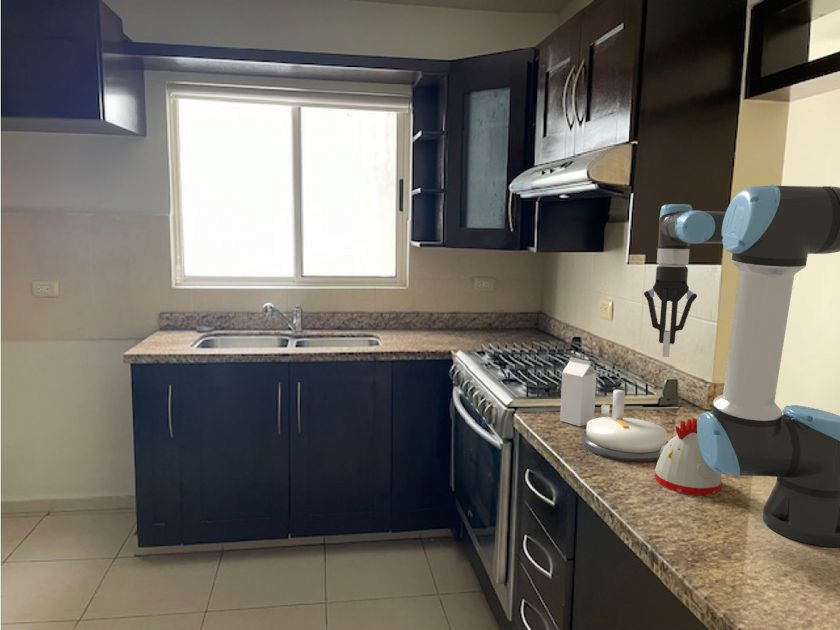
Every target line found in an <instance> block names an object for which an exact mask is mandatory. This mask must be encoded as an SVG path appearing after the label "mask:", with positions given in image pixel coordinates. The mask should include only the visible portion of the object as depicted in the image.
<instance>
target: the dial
mask: <svg viewBox="0 0 840 630" xmlns="http://www.w3.org/2000/svg"><path fill="white" fill-rule="evenodd" d="M625 396H626V391H625V390H622V389H614V390H613V393H612V409H611V410H612V411H611V416H609V417H601V416H600V417H596V418H595V417H594V419H592V420H590V421H588V423H587V424H586V430H585V431H586V437H587V439H588V440H590V441H591V442H592V443H594V444H596V445H599V446H601V447H604V448H608V449H612V450H617V451H623V452H632V453H648V452H655V451H659V450H660V449H661V447H662V446H663V445H666V441H668V440H667V439H668V432H667V430H666V429H665V428H664V427H662V426H660V425H658V424H656V423H653V422H651V421H647V420H643V419H639V418H632V417H625V416H624V415H625V414H624V412H625V399H626V397H625Z"/></svg>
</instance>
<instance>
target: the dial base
mask: <svg viewBox="0 0 840 630" xmlns="http://www.w3.org/2000/svg"><path fill="white" fill-rule="evenodd" d="M610 407H611V405H610V404H605V403H602V405H601V408H600V409H601V412H600V417H610V411H611V409H610ZM668 442H669V441H668V440H667V441H666V444H667V443H668ZM582 444H583V445H582ZM581 445H582V447H583V446H584V447H585V448H586V449H587V450H586V449H585V448H584V447H583V448H584V449H585V450H586V451H588V450H589V451H591V452H593V453H595V454H594V455H596V454H597V455H596V456H598V455H600V456H599V457H601V456H603V457H602V458H604V457H606V458H605V459H608V458H610V459H609V460H612V459H613V461H617V460H618V461H617V462H623V461H624V463H632V462H634V464H646V463H647V464H649V463H656V462H658V460H659V457H660V450H659V451H655V452H648V453H632V452H623V451H617V450H612V449H608V448H604V447H601V446H599V445H596V444H594V443H592V442H591V441H590V440H588V439H587V437H586V430H585V431H584V432H583V433H582V437H581ZM589 451H588V452H589ZM591 452H590V453H591ZM593 453H592V454H593Z"/></svg>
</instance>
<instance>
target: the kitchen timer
mask: <svg viewBox="0 0 840 630" xmlns="http://www.w3.org/2000/svg"><path fill="white" fill-rule="evenodd" d="M697 423H698V419H697V418H694V417H693V418H692V419H690V418H688V419H687V420H686V422H685V420H682V419H681V420H680V424H679V425H680V426H676V425H675V431H676V435H675V436H673V437H672V438H671V439H670V440H669V441H668V443H667V444H666V445H663V446H662V447H661V449H660V457H659V460H658V461H657V463H656V466H655V469H654V479H655V481H656V482H657V483H658V484H659V485H660V486H662V487H664V488H666V489H667V490H670V491H674V492H677V493H682V494H685V495H686V494H687V495H692V496H693V495H694V496H709V495H714V494H718V493H719V492H720V491H721V489H722V474H718V473H716V472H714V471H712V470H711V469H710V468H709V467H708V465H707V464H706V462H705V460H704V458H703V456H702V453H701V450H700V447H699V442H698V436H697Z"/></svg>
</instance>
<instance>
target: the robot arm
mask: <svg viewBox="0 0 840 630" xmlns="http://www.w3.org/2000/svg"><path fill="white" fill-rule="evenodd" d="M658 220H659V225H658V226H659V227H658V242H657V243H658V244H657V253H656V255H657V256H656V257H657V258H656V264H657V266H656V269H655V282H654V284H653V285H652V288H651V289H648V290H645V291H644V292H643V295H644V297H645V299H646V301H647V305H648V309H649V315H650V320H651V326H652V328H653V329H655V330H658V335H659V336H658V343H659V344H662V357H667V358H669V357H670V351H671V345H674V344H675V342H676V333H677V332H679V331H682V330H683V329H684V327H685V324H686V321H687V319H688V316H689V312H690V309H691V306H692V305H693V302H694V301H695V300H696V299H697V297H698V295H697V293H695V292H693V291H691V290H690V288H689V285H688V273H689V268H688V266H687V265H689V260H690V249H691V245H693V244H695V245H698V244H722V245H723V248H724V249H725V250H726V252H729V253H730V254H732V256H731V262H732V263H733V264H734V265H735V267H736V268H737V269H738V281H737V288H736V296H735V303H734V309H733V317H732V325H731V331H730V332H731V333H730V338H729V339H730V340H729V346H728V347H729V348H728V354H727V362H726V368H725V377H724V384H723V391H722V392H723V393H722V394H720V395H718V396H716V397H715V398H714V399H713V401H712V408H711V411H706V412H702V413H701V414H700V415H699V417H698V419H697V436H698V442H699V447H700V450H701V453H702V456H703V458H704V460H705V462H706V464H707V465H708V467H709V468H710V469H711V470H712V471H714V472H716V473H718V474H721V475H728V476H734V477H743V476H744V477H774V478H775V477H776V482H775V485H774V486H773V489H772V490H771V492H770V494H769V496H768V498H767V500H766V502H765V504H764V506H763V510H762V520H763V523H764V524H765V525H766V526H767V527H768V528H769V529H770V530H772V531H774V532H776V533H778V534H779V535H781V536H784V537H786V538H789V539H791V540H794V541H797V542H800V543H803V544H804V543H805V544H808V545H811V546H818V547H826V548H839V547H840V415H838V414H836V413H832V412H830V411H827V410H823V409H819V408H813V407H809V406H804V405H800V404H799V405H797V404H789V405H785V406H784V407H783V409H781V408H780V407H779V406H778V405H777V404H776V402H775V401H776V396H777V389H778V382H779V375H780V369H781V361H782V355H783V351H784V342H785V336H786V330H787V326H788V325H787V323H788V317H789V312H790V311H789V310H790V307H791V306H790V305H791V298H792V290H793V286H794V278H795V275H796V274H797V273H799V272H801V271H802V270H803V269H805V268H806V266H807V261H808V255H821V254H822V255H825V254H826V255H827V254H835V253H839V252H840V187H839V186H832V185H831V186H830V185H829V186H828V185H825V186H816V185H815V186H811V185H808V186H807V185H803V186H802V185H774V184H770V185H754V186H749V187H745V188H743V189H742V190H740V191H739V192H738V193H737V194H736V195H735V196H734V198H733V199H732V200H731V202H730V203H729V205H728V207H727V209H726V211H709V210H707V211H705V210H704V211H703V210H693V206H692V205H691V204H687V203H686V204H685V203H682V204H680V203H678V204H676V203H674V204H673V203H670V204H663V205H662V206H661V209H660V214H659V218H658ZM655 294H656V295H657V297H658V299H659V300H660V315H659V316H660V317H659V318H660V319H659V320H660V321H659V322H658V317H657V310H656V307H655V306H656V305H655V300H654V297H655ZM685 295H686V297H685V298H686V300H687V301H686V303H685V306H684V309H683V312H682V315H681V317H680V321H679V323H678V324H677V319H678V305H679V302H680V301H681V299H683V297H684V296H685ZM668 302H671V315H670V329H669V330H667V329H666V326H667V325H666V322H667V310H668Z"/></svg>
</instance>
